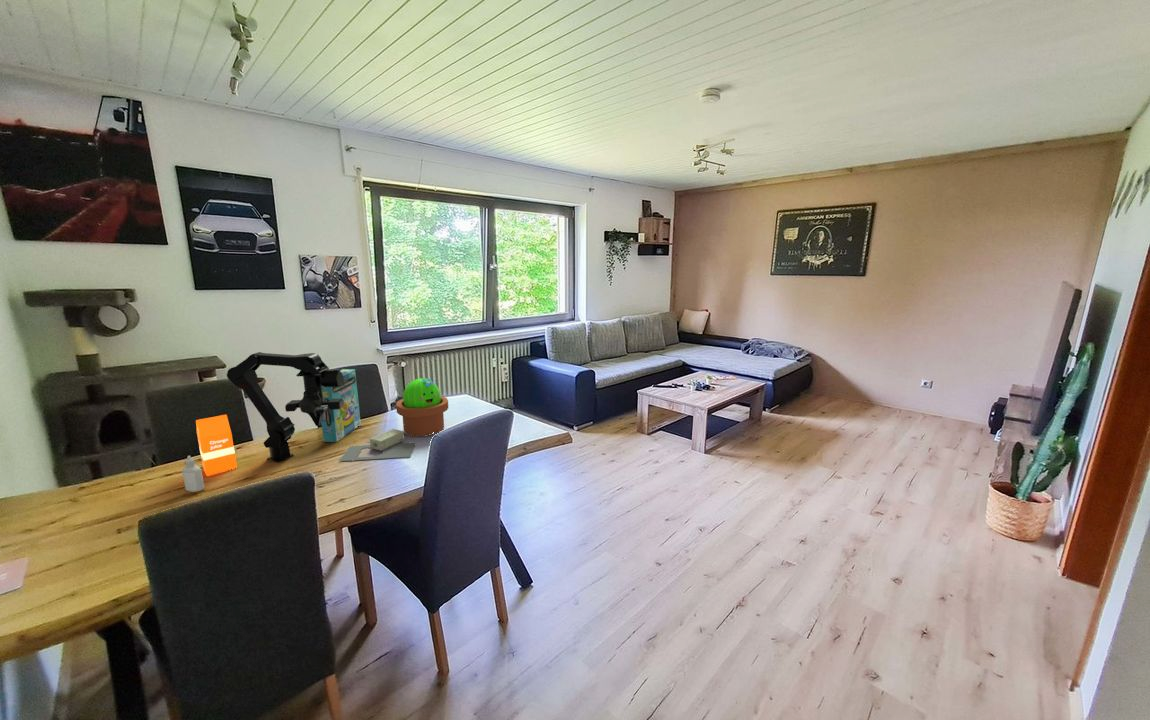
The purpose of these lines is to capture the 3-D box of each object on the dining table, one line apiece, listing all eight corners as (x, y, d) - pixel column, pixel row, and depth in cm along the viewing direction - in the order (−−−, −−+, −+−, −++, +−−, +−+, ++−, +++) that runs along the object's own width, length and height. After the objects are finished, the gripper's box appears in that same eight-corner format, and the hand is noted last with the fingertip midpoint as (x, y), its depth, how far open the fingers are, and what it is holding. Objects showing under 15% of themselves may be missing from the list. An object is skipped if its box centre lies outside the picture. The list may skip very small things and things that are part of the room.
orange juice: (237, 468, 159) (229, 416, 155) (206, 476, 153) (196, 423, 149) (233, 461, 164) (224, 411, 160) (203, 469, 158) (193, 417, 154)
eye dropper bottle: (188, 495, 141) (181, 460, 138) (185, 489, 144) (178, 455, 142) (205, 490, 144) (199, 456, 141) (202, 484, 148) (195, 451, 145)
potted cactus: (391, 428, 199) (386, 376, 194) (436, 418, 214) (433, 369, 209) (410, 443, 184) (406, 386, 178) (457, 430, 198) (455, 378, 193)
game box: (337, 442, 183) (330, 380, 178) (322, 442, 183) (315, 380, 178) (361, 425, 203) (356, 369, 197) (348, 424, 203) (342, 368, 198)
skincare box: (381, 451, 175) (404, 440, 185) (380, 441, 174) (403, 431, 184) (369, 448, 177) (393, 438, 188) (369, 438, 176) (393, 428, 187)
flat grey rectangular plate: (338, 462, 166) (338, 461, 165) (350, 447, 179) (350, 446, 179) (410, 457, 170) (410, 456, 170) (416, 443, 184) (416, 442, 184)
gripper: (275, 394, 154) (281, 435, 157) (332, 392, 157) (337, 432, 161) (289, 385, 164) (294, 424, 168) (342, 383, 168) (346, 421, 171)
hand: (317, 425), depth 167 cm, fingers closed
